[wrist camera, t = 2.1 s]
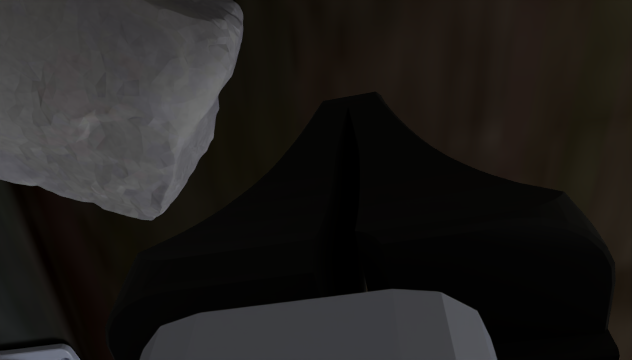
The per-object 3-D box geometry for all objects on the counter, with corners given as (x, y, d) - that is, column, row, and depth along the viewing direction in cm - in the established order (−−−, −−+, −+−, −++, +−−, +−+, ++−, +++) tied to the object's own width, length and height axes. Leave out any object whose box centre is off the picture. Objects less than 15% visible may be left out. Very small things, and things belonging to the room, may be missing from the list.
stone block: (204, 172, 24) (268, -17, 17) (169, 254, 21) (232, 60, 14) (-61, 74, 22) (-107, -183, 15) (-146, 147, 19) (-254, -141, 12)
